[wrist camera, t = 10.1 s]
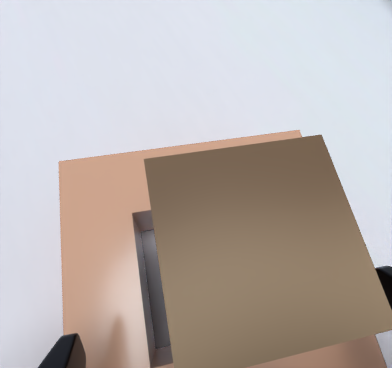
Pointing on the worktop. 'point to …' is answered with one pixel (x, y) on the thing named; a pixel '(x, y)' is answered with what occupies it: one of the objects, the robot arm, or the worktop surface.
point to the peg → (260, 254)
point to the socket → (139, 264)
